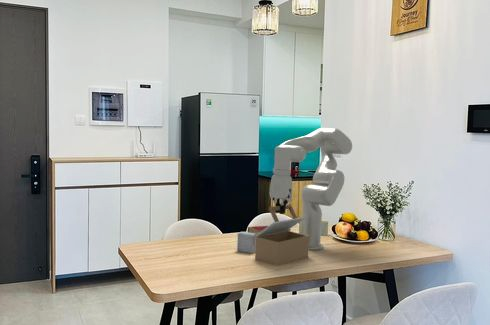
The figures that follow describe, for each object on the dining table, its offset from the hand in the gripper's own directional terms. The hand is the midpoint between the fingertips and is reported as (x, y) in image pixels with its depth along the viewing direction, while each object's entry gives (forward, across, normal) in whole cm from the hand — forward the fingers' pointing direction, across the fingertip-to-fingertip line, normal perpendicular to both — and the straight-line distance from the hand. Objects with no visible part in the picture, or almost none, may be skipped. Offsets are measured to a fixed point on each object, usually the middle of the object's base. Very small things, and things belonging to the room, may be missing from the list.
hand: (280, 212), depth 207 cm
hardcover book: (+21, -33, +32) cm, 50 cm away
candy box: (+20, -17, +52) cm, 58 cm away
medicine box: (+21, -16, -4) cm, 26 cm away
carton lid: (+6, +1, 0) cm, 7 cm away
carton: (+20, +2, 0) cm, 21 cm away
